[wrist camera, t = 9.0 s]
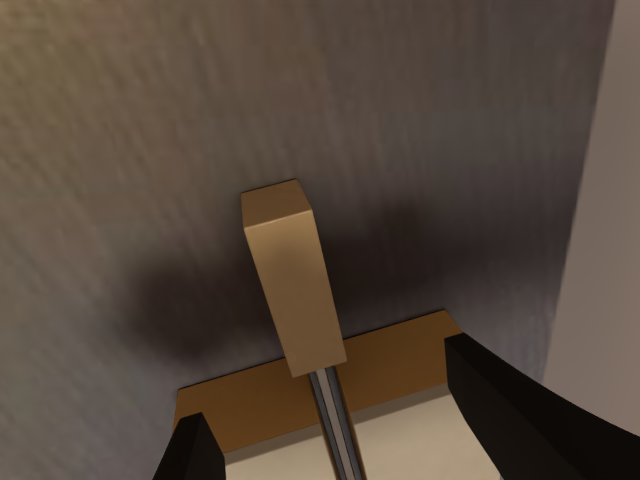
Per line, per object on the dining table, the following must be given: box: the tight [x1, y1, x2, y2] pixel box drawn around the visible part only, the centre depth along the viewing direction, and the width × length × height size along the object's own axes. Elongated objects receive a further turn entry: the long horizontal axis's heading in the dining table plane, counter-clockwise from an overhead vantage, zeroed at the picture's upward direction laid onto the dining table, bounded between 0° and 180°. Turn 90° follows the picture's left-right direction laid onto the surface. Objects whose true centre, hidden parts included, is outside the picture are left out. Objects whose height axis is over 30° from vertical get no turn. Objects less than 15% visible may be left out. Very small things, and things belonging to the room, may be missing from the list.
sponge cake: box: [172, 310, 500, 480], centre depth 20 cm, size 13×12×5 cm
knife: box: [241, 179, 355, 480], centre depth 18 cm, size 18×2×3 cm, turn 12°
